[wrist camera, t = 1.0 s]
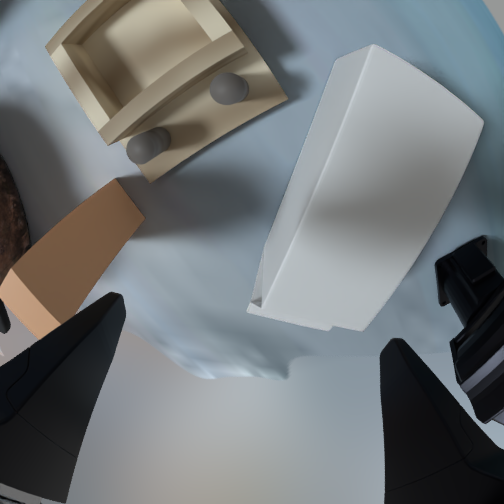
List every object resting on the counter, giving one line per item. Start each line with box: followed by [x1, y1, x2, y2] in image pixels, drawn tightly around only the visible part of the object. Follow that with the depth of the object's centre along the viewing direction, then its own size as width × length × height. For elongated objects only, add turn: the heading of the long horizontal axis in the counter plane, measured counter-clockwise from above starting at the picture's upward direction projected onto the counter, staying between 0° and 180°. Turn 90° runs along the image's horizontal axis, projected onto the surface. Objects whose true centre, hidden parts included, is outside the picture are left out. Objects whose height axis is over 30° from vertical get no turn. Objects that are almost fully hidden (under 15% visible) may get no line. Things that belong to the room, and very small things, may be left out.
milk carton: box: [247, 44, 484, 332], centre depth 16 cm, size 7×7×19 cm
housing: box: [45, 0, 288, 184], centre depth 13 cm, size 14×11×4 cm
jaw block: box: [0, 178, 146, 340], centre depth 16 cm, size 4×4×12 cm
